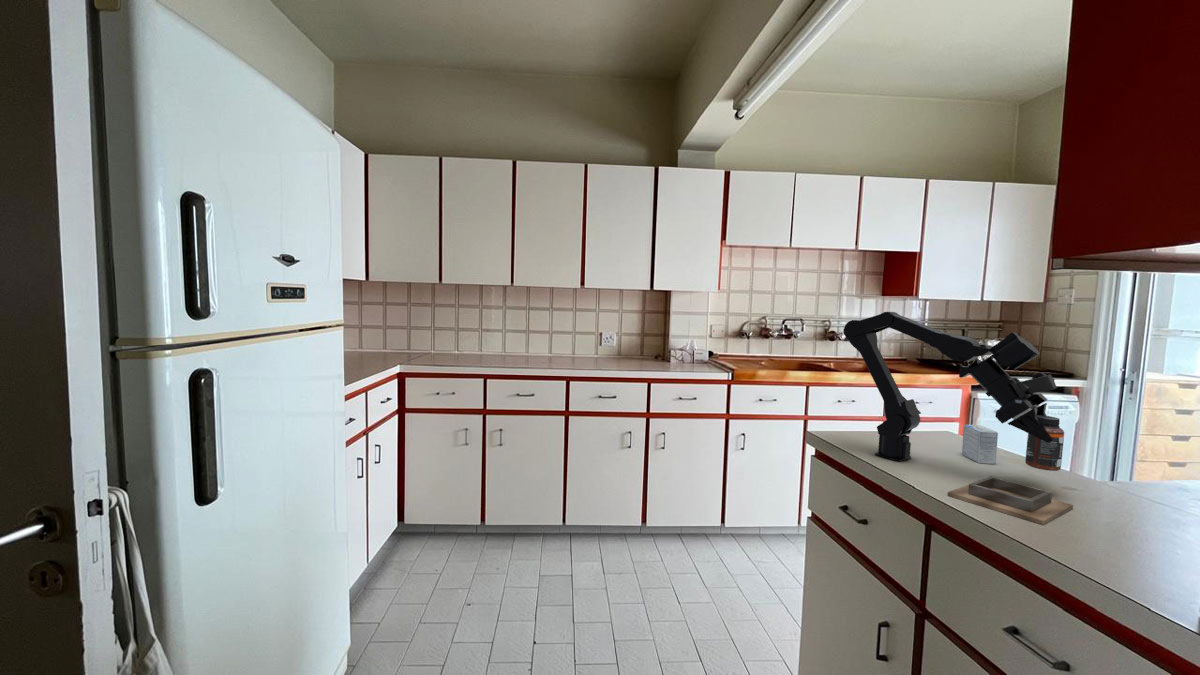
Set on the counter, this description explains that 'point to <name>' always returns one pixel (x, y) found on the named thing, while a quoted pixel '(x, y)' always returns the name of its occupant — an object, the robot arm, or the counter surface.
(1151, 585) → the counter surface
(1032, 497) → the socket board
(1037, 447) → the supplement bottle
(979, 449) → the medicine box
